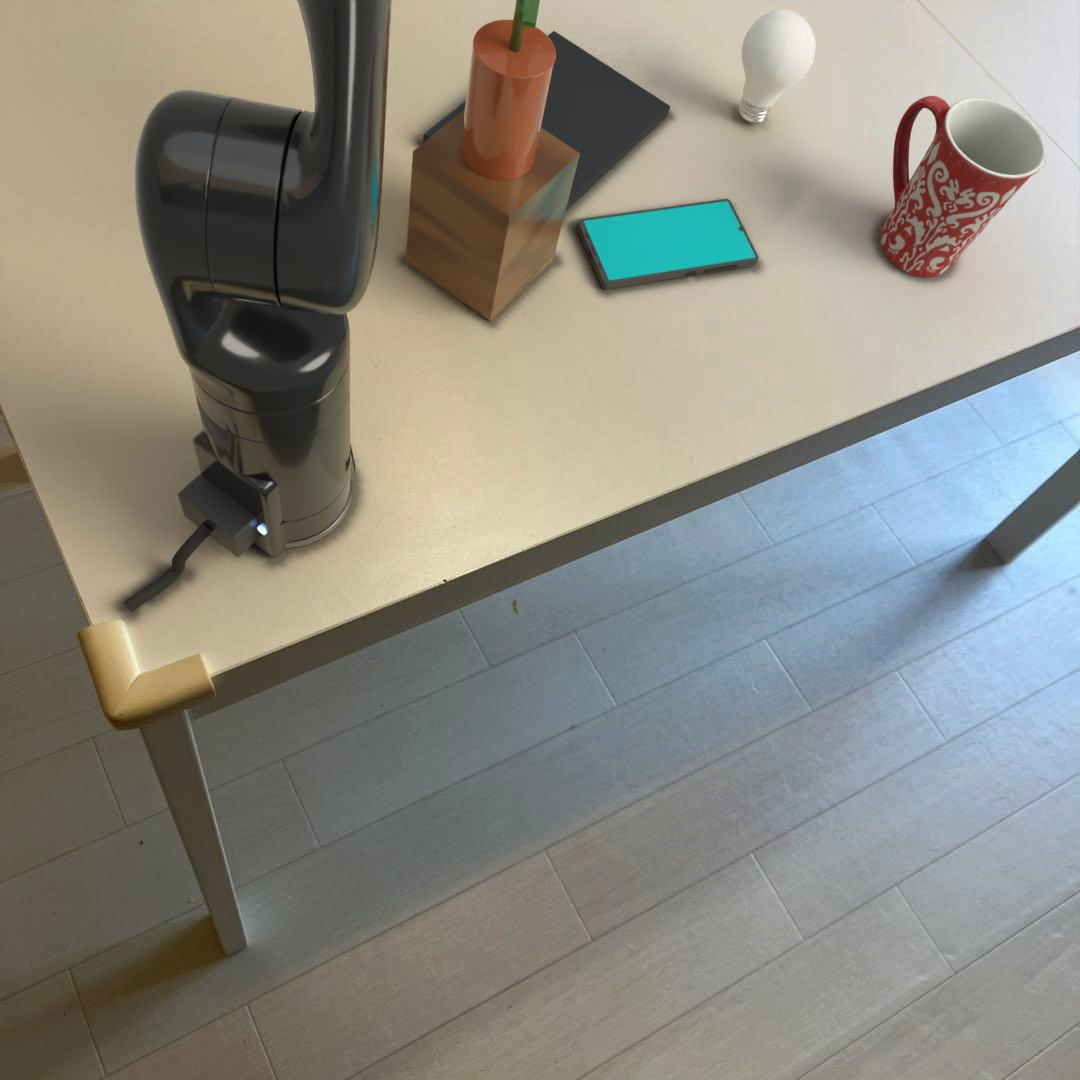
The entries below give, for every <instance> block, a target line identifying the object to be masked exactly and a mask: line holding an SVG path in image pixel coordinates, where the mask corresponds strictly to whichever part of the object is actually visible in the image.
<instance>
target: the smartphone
mask: <svg viewBox="0 0 1080 1080" xmlns="http://www.w3.org/2000/svg"><path fill="white" fill-rule="evenodd" d="M576 230H577V232H578V234H579V237H580V239H581V241H582V244H583V246H584V248H585V251H586V253H587V255H588V258H589V261H590V262H591V265H592V268H593V270H594V272H595V274H596V277H597V279H598V282H599V284H600V286H601V288H602V289H604V290H612V289H618V288H624V287H631V286H636V285H642V284H649V283H654V282H661V281H668V280H673V279H680V278H686V277H693V276H699V275H705V274H711V273H712V274H713V273H717V272H724V271H730V270H736V269H737V270H738V269H743V268H750V267H754V266H756V265H757V262H758V261H759V255H758V252H757V251H756V249H755V247H754V244H753V242H752V241H751V239H750V236H749V235H748V233H747V230H746V228H745V226H744V224H743V223H742V221H741V218H740V217H739V214H738V213H737V211H736V209H735V207H734V205H733V203H732V201H731V200H730V199H728V198H722V199H714V200H707V201H700V202H693V203H686V204H685V203H684V204H679V205H678V204H677V205H671V206H664V207H657V208H650V209H649V208H648V209H641V210H634V211H626V212H621V213H613V214H608V215H607V214H606V215H598V216H592V217H584V218H580V219H578V221H577V225H576Z"/></svg>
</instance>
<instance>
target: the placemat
mask: <svg viewBox="0 0 1080 1080" xmlns="http://www.w3.org/2000/svg"><path fill="white" fill-rule="evenodd" d="M547 36H548V37H549V38H550V39H551V41H552V42H553V44H554V47H555V50H556V59H555V64H554V69H553V74H552V79H551V84H550V88H549V93H548V98H547V103H546V108H545V113H544V118H543V123H542V127H541V128H542V129H544V130H545V131H547V132H548V133H550V134H551V135H553V136H554V137H556V138H557V139H559V140H560V141H562V142H563V143H565V144H566V145H568V146H569V147H571V148H572V149H574V150H575V151H577V152H578V153H580V156H579V160H578V164H577V168H576V172H575V176H574V180H573V184H572V187H571V191H570V195H569V199H568V203H567V207H566V211H565V213H566V212H567V211H568V210H569V209H570V208H572V206H573V205H574V204H575V203H577V202H578V200H580V199H581V198H582V197H583V195H586V193H587V192H589V190H590V189H591V188H592V187H594V186H595V185H596V184H597V183H599V181H600V180H601V179H602V178H603V177H604V176H606V174H607V173H608V172H610V170H612V169H613V168H614V167H615V166H616V165H617V164H618V163H619V162H621V160H622V159H624V158H625V156H627V155H628V154H629V153H630V152H631V151H632V150H633V149H634V148H635V147H636V146H637V145H638V144H640V143H641V142H642V140H643V139H645V137H647V136H648V135H649V134H650V133H651V132H652V131H653V130H654V129H655V128H657V126H658V125H660V123H662V122H663V121H664V120H665V119H666V118H667V117H668V115H669V113H670V110H671V105H670V104H668V103H667V102H665V101H663V100H662V99H660V98H659V97H657V96H655V95H654V94H652V93H651V92H650V91H648V90H647V89H645V88H643V87H641V86H640V85H639V84H637V83H636V82H634V81H632V80H631V79H629V78H628V77H626V76H625V75H623V74H621V73H620V72H619V71H617V70H615V68H613V67H611V66H610V65H608V64H606V63H605V62H603V61H602V60H600V59H598V58H597V57H595V56H594V55H592V54H591V53H589V52H587V51H586V50H584V49H583V48H581V47H580V46H578V45H576V44H575V43H573V42H572V41H571V40H569V39H567V38H566V37H564V36H563V35H561V34H560V33H559V32H557V31H555V30H553V31H552V32H551V33H549V34H547ZM465 106H466V100H465V101H463V102H462V103H461V104H460V105H458V106H457V107H456V108H454V109H453V110H452V111H450V113H448V114H447V115H445V116H444V117H443V118H442V119H441V120H439V121H438V122H437V123H436V124H434V125H433V126H432V127H430V128H429V129H428V130H427V131H426V132H424V133H423V137H422V138H423V140H422V143H424V142H425V141H426V140H427V139H429V138H430V137H431V136H432V135H434V134H435V133H436V132H437V131H439V130H440V129H441V128H442V127H444V126H445V125H446V124H447V123H449V122H450V121H451V120H452V119H454V118H455V117H456V116H457V115H459V114H460V113H461V112H462V111H464V110H465Z"/></svg>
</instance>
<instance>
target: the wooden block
mask: <svg viewBox="0 0 1080 1080" xmlns="http://www.w3.org/2000/svg"><path fill="white" fill-rule="evenodd" d="M464 114H465V110H464V111H462V112H461V113H460V114H459V115H457V116H456V117H455V118H454V119H452V120H451V121H450V122H449V123H447V124H446V125H445V126H444V127H442V128H441V129H440V130H439V131H437V132H436V133H435V134H434V135H432V136H431V137H430V138H429V139H427V140H426V141H425V142H424V143H423V142H422V143H421V144H420V145H418V146H417V147H416V148H415V149H414V150H412V162H411V173H410V186H409V187H410V188H409V189H410V190H409V205H408V219H407V235H406V247H405V248H406V249H405V263H406V264H408V265H409V266H410V267H412V268H414V269H415V270H416V271H417V272H419V273H420V274H422V275H423V276H424V277H426V278H428V279H429V280H431V281H432V282H433V283H435V284H436V285H438V286H439V287H440V288H441V289H443V290H445V291H446V292H447V293H448V294H450V295H452V296H453V297H455V298H456V299H457V300H459V301H460V302H462V303H463V304H464V305H466V306H467V307H468V308H470V309H471V310H473V311H474V312H476V313H477V314H478V315H480V316H481V317H483V318H484V319H486V320H487V321H489V322H491V321H492V320H494V318H495V317H497V316H498V314H499V313H501V312H502V311H503V310H504V309H505V308H506V307H507V306H509V304H510V303H511V302H512V301H513V300H514V299H515V298H516V297H517V296H518V295H519V294H520V293H521V292H522V291H523V290H525V288H526V287H528V286H529V284H530V283H532V282H533V280H535V279H536V278H537V277H538V276H539V275H540V274H541V273H542V272H543V271H544V270H545V269H546V268H547V267H548V266H549V265H551V263H552V262H553V261H554V259H555V254H556V251H557V247H558V242H559V239H560V235H561V230H562V226H563V222H564V219H565V216H566V212H567V211H566V207H567V203H568V199H569V195H570V191H571V187H572V184H573V180H574V176H575V172H576V168H577V164H578V160H579V156H580V153H578V152H577V151H575V150H574V149H572V148H571V147H569V146H568V145H566V144H565V143H563V142H562V141H560V140H559V139H557V138H556V137H554V136H553V135H551V134H550V133H548V132H547V131H545V130H544V129H542V128H541V132H540V137H539V142H538V147H537V152H536V157H535V161H534V164H533V166H532V168H531V169H530V170H529V171H528V172H527V173H526V174H524V175H523V176H521V177H518V178H515V179H510V180H496V179H491V178H488V177H485V176H482V175H480V174H478V173H477V172H475V171H474V170H473V169H471V168H470V167H469V166H468V165H467V163H466V162H465V161H464V159H463V157H462V154H461V139H462V131H463V123H464ZM565 211H566V212H565Z"/></svg>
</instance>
